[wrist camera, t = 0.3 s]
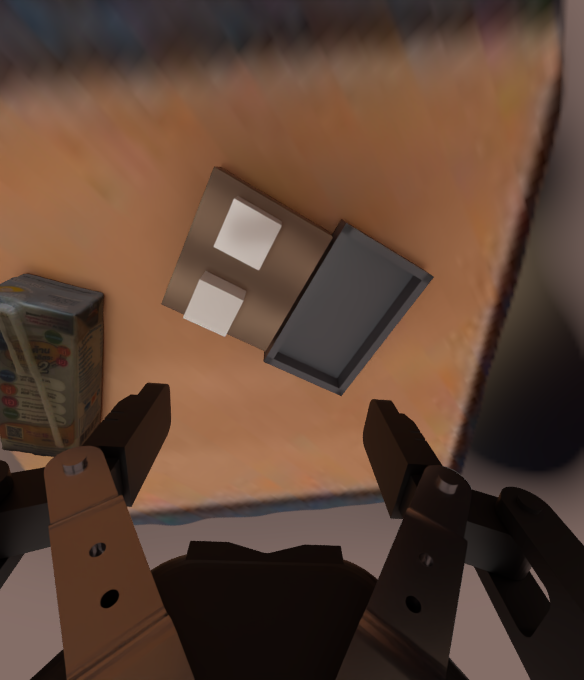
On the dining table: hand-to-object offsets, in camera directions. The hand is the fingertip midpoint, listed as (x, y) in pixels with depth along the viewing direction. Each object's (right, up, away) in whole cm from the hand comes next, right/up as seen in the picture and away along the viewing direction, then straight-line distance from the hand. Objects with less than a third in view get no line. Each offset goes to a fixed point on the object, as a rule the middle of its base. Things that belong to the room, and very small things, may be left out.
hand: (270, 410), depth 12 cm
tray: (+6, +6, +21) cm, 23 cm away
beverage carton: (-25, +1, +23) cm, 34 cm away
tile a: (-3, +12, +14) cm, 19 cm away
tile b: (-6, +7, +17) cm, 19 cm away
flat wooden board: (-4, +10, +18) cm, 21 cm away
